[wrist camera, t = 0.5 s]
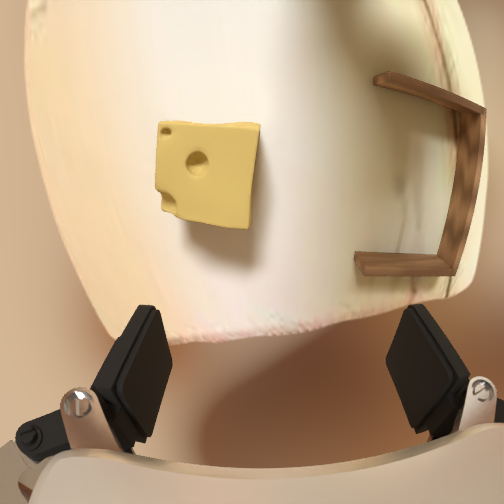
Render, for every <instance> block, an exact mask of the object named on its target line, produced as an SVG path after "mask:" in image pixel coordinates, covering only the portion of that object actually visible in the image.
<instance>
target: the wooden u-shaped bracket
mask: <svg viewBox="0 0 504 504" xmlns="http://www.w3.org/2000/svg"><path fill="white" fill-rule="evenodd" d="M374 85H376V86H380V87H384V88H388V89H392V90H396V91H400V92H403V93H407V94H410V95H413V96H417V97H420V98H423V99H426V100H429V101H432V102H435V103H438V104H441V105H443V106H446V107H449V108H451V109H454V110H456V111H459V112H461V121H460V136H459V147H458V156H457V164H456V171H455V178H454V184H453V190H452V195H451V201H450V205H449V210H448V215H447V219H446V223H445V227H444V231H443V235H442V239H441V243H440V246H439V250H438V253H437V255H426V254H403V253H379V252H355V255H354V260H355V262H356V263H357V265H358V267H359V268H360V270H361V272H362V273H363V275H364V276H455V274H456V272H457V269H458V266H459V263H460V260H461V257H462V253H463V250H464V247H465V243H466V240H467V236H468V233H469V229H470V225H471V221H472V217H473V213H474V208H475V204H476V199H477V194H478V188H479V183H480V176H481V170H482V162H483V154H484V144H485V131H486V108H484V107H482V106H480V105H478V104H476V103H474V102H472V101H469V100H467V99H465V98H463V97H461V96H458V95H456V94H454V93H451V92H449V91H446V90H444V89H441V88H439V87H436V86H434V85H431V84H428V83H425V82H422V81H419V80H416V79H413V78H410V77H407V76H404V75H401V74H397V73H394V72H390V71H389V72H386V73H383V74H380V75H377V76H375V77H374Z"/></svg>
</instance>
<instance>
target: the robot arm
mask: <svg viewBox="0 0 504 504" xmlns="http://www.w3.org/2000/svg"><path fill="white" fill-rule="evenodd" d="M386 365H387V368H388V370H389V372H390V375H391V377H392V380H393V382H394V385H395V387H396V390H397V392H398V394H399V397H400V399H401V402H402V405H403V407H404V410H405V413H406V415H407V418H408V421H409V424H410V426H411V427H412V428H414V430H415V432H416V434H418V433H421V432H424V431H427V430H429V433H430V435H429V437H428V440H427V442H426V443H423V444H420V445H417V446H413V447H410V448H407V449H403V450H399V451H396V452H392V453H388V454H384V455H380V456H375V457H370V458H365V459H360V460H354V461H349V462H342V463H336V464H328V465H319V466H309V467H297V468H271V469H270V468H269V469H250V468H249V469H248V468H227V467H214V466H203V465H195V464H186V463H179V462H173V461H166V460H161V459H155V458H150V457H145V456H139V455H136V454H135V452H134V450H133V448H132V447H134V444H135V441H137V442H142V443H146V439H147V437H151V435H152V433H153V429H154V426H155V422H156V419H157V415H158V412H159V409H160V405H161V402H162V398H163V395H164V391H165V388H166V385H167V382H168V379H169V375H170V372H171V369H172V357H171V353H170V350H169V346H168V342H167V338H166V334H165V330H164V326H163V322H162V318H161V313H160V311H159V310H156V308H155V306H152V305H139V306H138V307H137V309H136V311H135V312H134V314H133V316H132V317H131V319H130V321H129V323H128V324H127V326H126V328H125V330H124V331H123V333H122V335H121V336H120V337H118V338H117V340H116V341H115V343H114V345H113V346H112V348H111V350H110V352H109V354H108V356H107V357H106V359H105V361H104V363H103V365H102V367H101V369H100V370H99V372H98V374H97V376H96V378H95V380H94V382H93V384H92V386H91V388H90V389H88V388H85V387H78V388H74V389H72V390H70V391H68V392H67V393H66V394H65V395H64V396H63V398H62V399H61V403H60V409H59V410H57V411H54V412H52V413H49V414H47V415H44V416H41V417H39V418H36V419H34V420H32V421H28V422H26V423H24V424H22V425H21V426H20V427H19V428H18V431H17V432H16V437H15V438H16V441H15V442H13V441H12V440H10V441H9V442H8V443H6V444H5V445H4V446H2V447H1V448H0V504H504V401H503V400H501V399H498V398H497V391H496V388H495V386H494V384H493V383H492V382H491V381H490V380H489V379H487V378H485V377H481V376H478V377H474V378H472V379H471V381H470V380H469V379H468V377H469V376H470V373H469V371H468V369H467V368H466V366H465V364H464V363H463V361H462V360H461V358H460V356H459V355H458V353H457V352H456V350H455V349H454V347H453V346H452V344H451V343H450V341H449V340H448V338H447V337H446V335H445V334H444V332H443V331H442V330H441V328H440V327H439V325H438V324H437V323H436V321H435V320H434V319H433V317H432V316H431V314H430V313H429V312H428V310H427V309H426V307H425V306H424V305H423V304H414V305H409V306H408V307H407V309H405V310H404V312H403V315H402V318H401V321H400V323H399V326H398V329H397V331H396V334H395V336H394V339H393V342H392V344H391V347H390V349H389V352H388V354H387V356H386Z"/></svg>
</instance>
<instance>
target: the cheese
mask: <svg viewBox="0 0 504 504" xmlns="http://www.w3.org/2000/svg"><path fill="white" fill-rule="evenodd" d="M259 132H260V124H258V123H252V122H237V123H227V124H201V123H192V122H185V121H162V122H159V124H158V133H157V149H156V173H155V189H156V190H157V191H158V192H160V193H161V195H162V202H161V209H162V210H163V211H165V212H170V213H172V214H173V215H174V216H176V217H177V218H180V219H183V220H188V221H194V222H200V223H205V224H211V225H215V226H220V227H226V228H232V229H249V227H250V225H251V221H252V206H251V193H252V182H253V174H254V167H255V160H256V152H257V146H258V139H259Z"/></svg>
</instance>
